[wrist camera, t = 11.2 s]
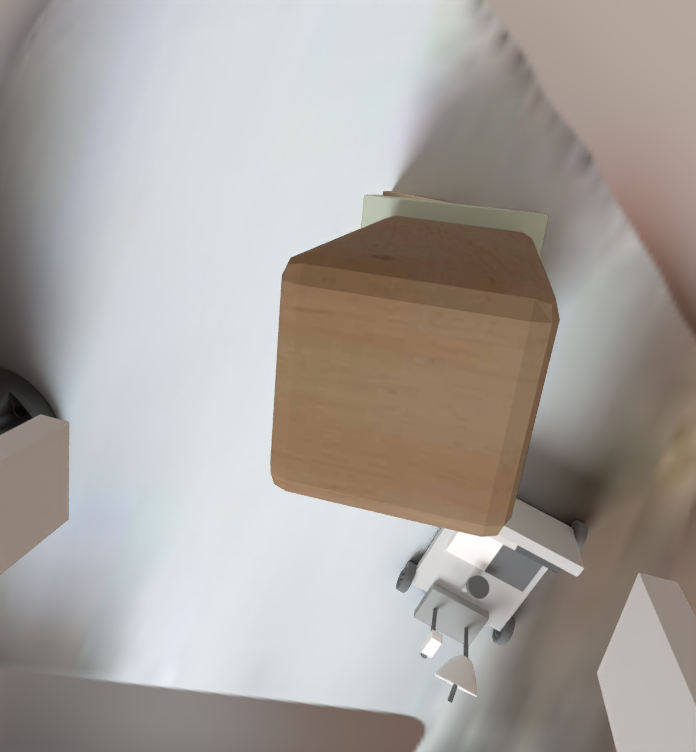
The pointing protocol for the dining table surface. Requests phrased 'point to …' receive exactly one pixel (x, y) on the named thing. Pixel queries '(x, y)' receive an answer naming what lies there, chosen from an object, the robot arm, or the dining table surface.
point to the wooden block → (413, 371)
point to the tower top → (456, 215)
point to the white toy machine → (487, 581)
